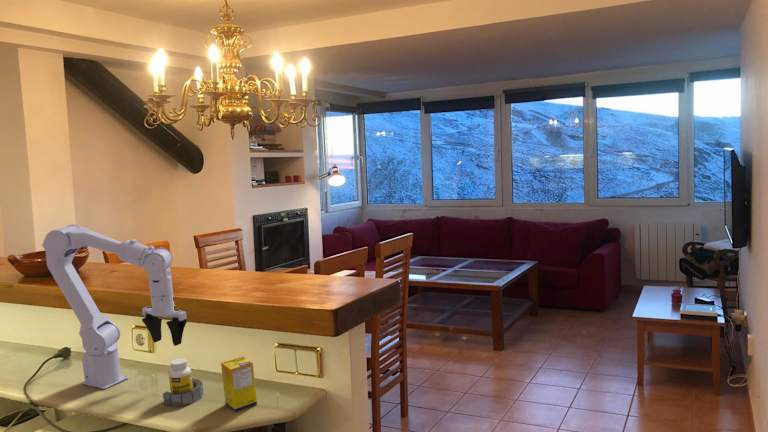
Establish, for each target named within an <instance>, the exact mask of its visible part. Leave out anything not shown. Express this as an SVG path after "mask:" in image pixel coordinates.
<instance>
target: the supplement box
mask: <svg viewBox="0 0 768 432" xmlns="http://www.w3.org/2000/svg"><path fill="white" fill-rule="evenodd" d="M220 366H221V377H222V383H223V384H222V385H223V386H222V387H223V392H224V393H223V394H224V402H225V406H227V407H228V408H229V409H231V410H232V411H233V412H234V413H236V412H239V411H242V410H244V409H247V408H250V407H253V406H256V405H257V404H258V403H257V402H258V399H257V392H256V390H257V389H256V381H255V373H254V371H255V370H254V363H253V362H252V361H251V360H249V359H248V358H246V357H245V356H240V357H236V358H233V359H230V360H225V361H222V362H220Z"/></svg>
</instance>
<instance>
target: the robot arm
mask: <svg viewBox="0 0 768 432" xmlns="http://www.w3.org/2000/svg"><path fill="white" fill-rule="evenodd" d="M85 247H90V248H93V249H97V250H100V251H104V252H107V253H111V254H114V255H116V256H117V258H118V259H119V260H120V261H122V262H125V263H127V264H130V265H134V266H137V267H139V268H143V269H144V271H145V272H147V275H148V283H149V292H150V293H149V295H150V303H151V307H152V308H147V307H148V306H145V307H143V308H141V310H142V316H144V318H141V321H142V323H143V324H144V325H145V327H146V328H147V330H148V331H149V333H150V336H151V338H152V342H153V343H157V342H161V340H162V321H163V318H167V319H171V320H169V321H166V325H167V327H168V330H169V331H170V335H171V340H172V344H173V346H179V345H181V344H182V342H183V341H182V340H183V334H184V331H185V327H186V324H187V322H188V321H186V319H187V318H188V317H187V311H184V310H181V309H179V311H175V310H174V306H175V300H174V301H173V297H174V289H173V280H172V279H173V278H172V273H171V272H172V271H171V265H172V263H173V254H172V253H171V251H170V250H168V249H167V248H164V247H158V248H155V246H154V245H149V246H148V245H146V244H142V243H139V242H138V240H137V239H134V238H133V239H131V240H130V239H127V240H124V241H119V240H117V239H114V238H111V237H109V236H106V235H104V234H101V233H98V232H96V231H93V230H91V229H90V228H88V227H86V226H79V225H78V224H69V225H66V226H65V227H61V228H57V229H53V230H50V231H49V232H48V233H46V235H45V237H44V240H43V242H42V248H43V250H44V251H45V259H46V266H47V268H48V270H49V273H51V276H52V277H53V279H54V280H55V283H56V284H57V286H58V287H59V289H60V291H61V292H62V295H63V296H64V297H65V300H66V301H67V302H68V305H69V306H70V308H71V310H72V311H73V313H74V315H75V316H76V318H77V320H78V322H79V323H80V328H79V333H78V334H79V336H80V338H81V342H82V348H83V349H84V351H85V353H84V354H83V357H82V370H83V375H84V376H83V377H84V381H82V383H81V384H82V385H86V386H89V387H94V388H98V389H102V390H105V389H108V388H110V387H113V386H115V385H116V384H119V383H121V382H123V381H125V380H128V379H129V377H130V376H129V375H124V374H122V371H121V363H120V356H119V355H120V354H119V348H118V340H119V339H120V338H121V331H120V330H121V329H120V328H119V326H118V325H117V324H116V323H114V322H113V321H112V320H111V319H110V317H109V316H107V315H105V314H103V313H101V311H100V310H99V308H98V306H97V305H96V303H95V301H94V299H93V298H92V296H91V294H90V293H89V291H88V288H87V287H86V285H85V284H84V282H83V280H82V279H81V277H80V275H79V273H78V272H77V270H76V267H74V265H73V263H72V262H73V260H74V258H75V255H76V253H77V251H79V249H80V248H85ZM157 316H159V317H162V319H159V318H157Z"/></svg>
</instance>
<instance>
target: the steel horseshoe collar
mask: <svg viewBox="0 0 768 432" xmlns="http://www.w3.org/2000/svg"><path fill="white" fill-rule="evenodd" d="M192 384H193V389H191V390H189V391H185V392H181V393H171V391H170V392H169V391H165V392H163V393H162V399H163V405H164V406H166V407H167V406H168V407H170V408H173V407H184V406H188V405H191V404H195V402H198V401H199V400H201V399H202V398H203V396H204V384H203V382H202V380H201V379H200V378H199V379H198V378H193V377H192Z"/></svg>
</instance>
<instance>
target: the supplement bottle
mask: <svg viewBox="0 0 768 432" xmlns="http://www.w3.org/2000/svg"><path fill="white" fill-rule="evenodd" d="M192 378H193V377H192V370H191V368H190V367H189V366H188V360H187V358H184V357H183V358H175V359H173V360H171V361H170V370H169V371H168V379H169V381H168V382H169V390H170V392H171V393H181V392H185V391H189V390H191V389H193V384H192Z"/></svg>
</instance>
